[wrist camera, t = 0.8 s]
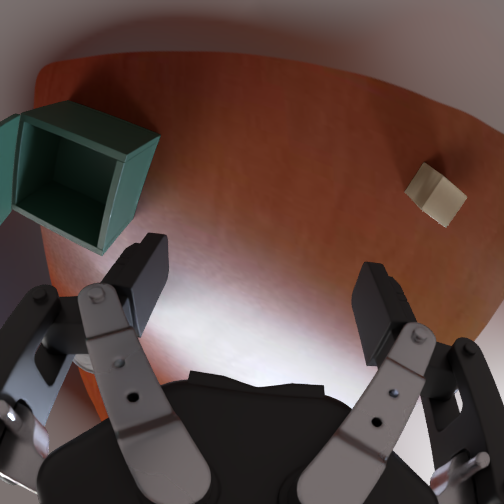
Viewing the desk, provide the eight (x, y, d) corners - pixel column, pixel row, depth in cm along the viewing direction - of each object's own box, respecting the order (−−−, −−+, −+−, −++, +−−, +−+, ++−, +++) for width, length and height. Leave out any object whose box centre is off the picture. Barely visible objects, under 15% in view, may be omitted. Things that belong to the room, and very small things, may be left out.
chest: (161, 134, 31) (127, 154, 24) (133, 219, 37) (102, 256, 30) (68, 99, 29) (20, 112, 21) (51, 181, 35) (11, 208, 27)
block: (423, 161, 30) (443, 175, 26) (447, 181, 31) (467, 197, 27) (404, 191, 33) (420, 209, 28) (428, 209, 33) (446, 228, 29)
